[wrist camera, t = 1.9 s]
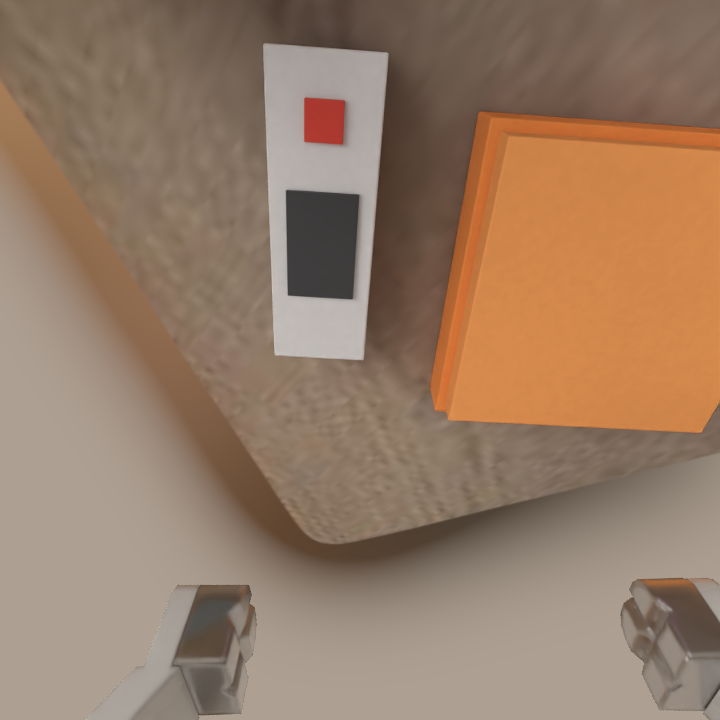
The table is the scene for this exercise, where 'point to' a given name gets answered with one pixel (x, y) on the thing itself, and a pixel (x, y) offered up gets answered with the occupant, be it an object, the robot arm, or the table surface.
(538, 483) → the table surface
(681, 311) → the folded cloth
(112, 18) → the table surface
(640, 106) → the table surface
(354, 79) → the remote
